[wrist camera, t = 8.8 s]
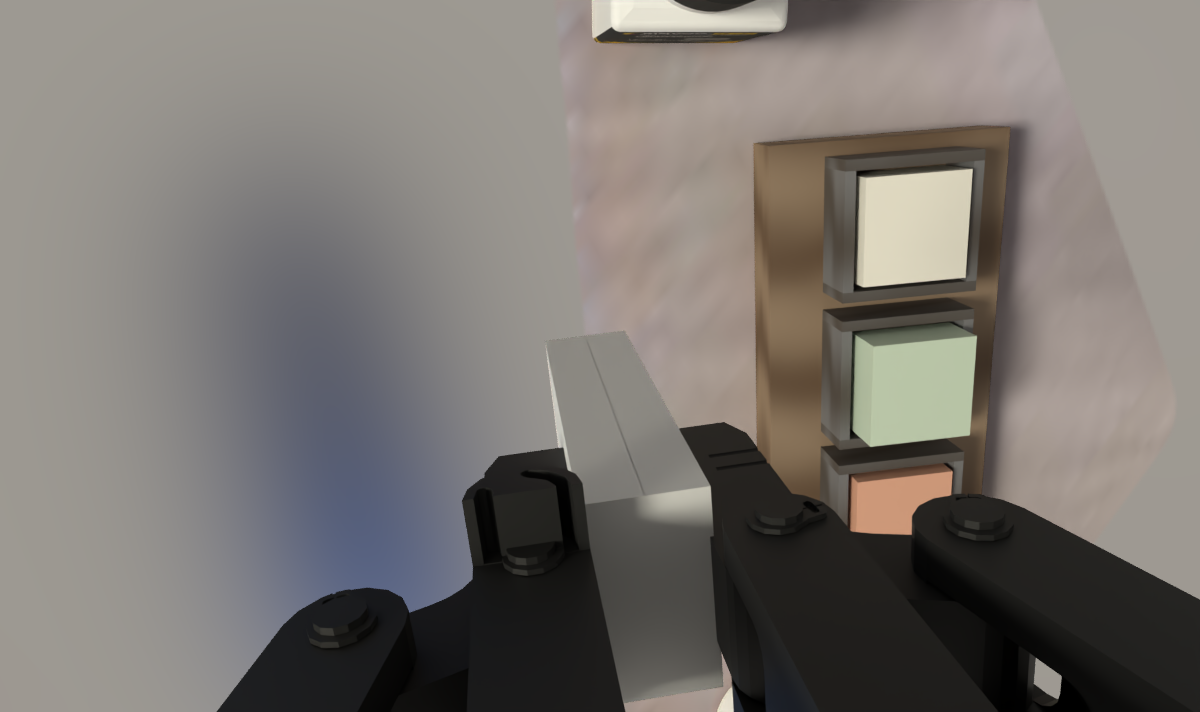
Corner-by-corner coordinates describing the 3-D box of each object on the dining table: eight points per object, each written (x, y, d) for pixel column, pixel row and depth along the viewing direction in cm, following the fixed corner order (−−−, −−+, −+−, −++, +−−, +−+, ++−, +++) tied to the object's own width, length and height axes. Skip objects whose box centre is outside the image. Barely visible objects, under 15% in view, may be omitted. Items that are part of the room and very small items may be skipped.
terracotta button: (837, 461, 44) (857, 482, 41) (928, 451, 44) (952, 471, 42) (836, 545, 45) (855, 569, 43) (923, 534, 46) (946, 558, 43)
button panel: (753, 143, 41) (787, 148, 36) (981, 125, 42) (1043, 128, 38) (758, 549, 48) (787, 598, 43) (954, 524, 49) (1003, 570, 44)
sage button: (851, 332, 40) (873, 346, 38) (948, 322, 41) (977, 335, 38) (848, 427, 42) (870, 446, 39) (943, 416, 42) (969, 435, 40)
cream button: (843, 173, 39) (866, 178, 37) (944, 164, 40) (972, 169, 37) (841, 276, 41) (863, 287, 38) (938, 267, 41) (965, 277, 39)
